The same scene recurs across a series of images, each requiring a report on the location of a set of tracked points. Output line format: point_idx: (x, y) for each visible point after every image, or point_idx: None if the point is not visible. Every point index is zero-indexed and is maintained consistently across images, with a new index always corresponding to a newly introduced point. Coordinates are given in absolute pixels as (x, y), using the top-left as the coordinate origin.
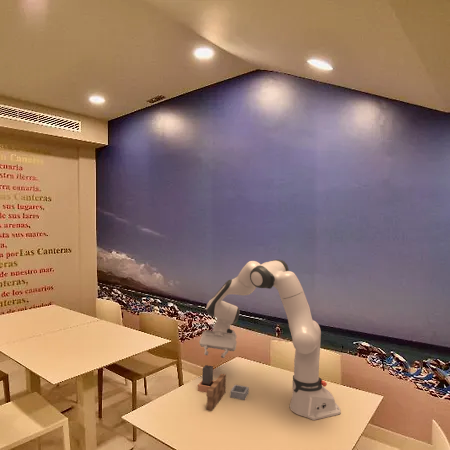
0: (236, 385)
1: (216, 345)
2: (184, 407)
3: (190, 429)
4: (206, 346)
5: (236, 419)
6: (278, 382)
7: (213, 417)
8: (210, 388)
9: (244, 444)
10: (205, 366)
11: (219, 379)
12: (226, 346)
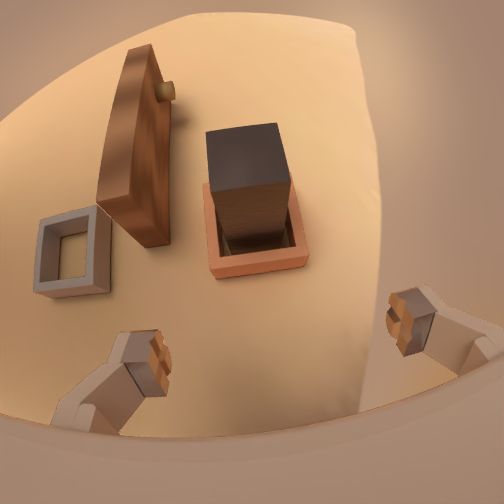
0: (83, 279)
1: (294, 438)
2: (257, 82)
3: (181, 41)
4: (486, 350)
5: (72, 123)
6: None
7: None
8: (141, 54)
9: (57, 79)
10: (275, 157)
11: (119, 125)
12: (39, 439)
